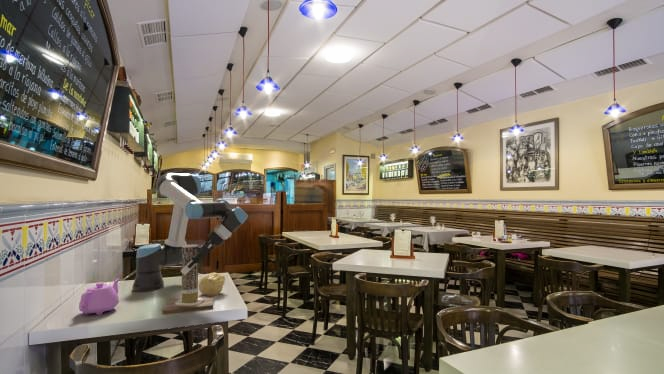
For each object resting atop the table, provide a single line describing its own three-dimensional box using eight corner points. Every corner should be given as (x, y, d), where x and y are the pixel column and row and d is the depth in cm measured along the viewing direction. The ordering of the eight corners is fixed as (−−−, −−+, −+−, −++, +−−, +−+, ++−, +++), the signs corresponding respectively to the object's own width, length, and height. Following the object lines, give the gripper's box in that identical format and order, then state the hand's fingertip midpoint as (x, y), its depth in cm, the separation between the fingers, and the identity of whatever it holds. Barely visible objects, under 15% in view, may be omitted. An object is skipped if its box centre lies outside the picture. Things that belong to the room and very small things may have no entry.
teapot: (106, 303, 158) (106, 277, 159) (132, 304, 156) (133, 277, 156) (65, 318, 139) (66, 287, 139) (95, 319, 136) (95, 289, 137)
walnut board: (167, 303, 157) (167, 298, 157) (213, 298, 164) (213, 294, 164) (162, 313, 142) (162, 309, 142) (212, 308, 148) (212, 304, 149)
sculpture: (216, 298, 165) (216, 275, 165) (194, 296, 167) (194, 274, 168) (228, 291, 176) (228, 270, 177) (207, 290, 179) (207, 270, 179)
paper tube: (200, 299, 156) (200, 244, 157) (193, 303, 149) (193, 246, 151) (186, 299, 157) (187, 244, 158) (178, 303, 150) (179, 246, 151)
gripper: (226, 243, 147) (188, 281, 142) (225, 237, 171) (192, 270, 165) (213, 231, 146) (174, 269, 140) (213, 227, 169) (180, 260, 164)
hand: (184, 270), depth 153 cm, fingers open, 13 cm apart
